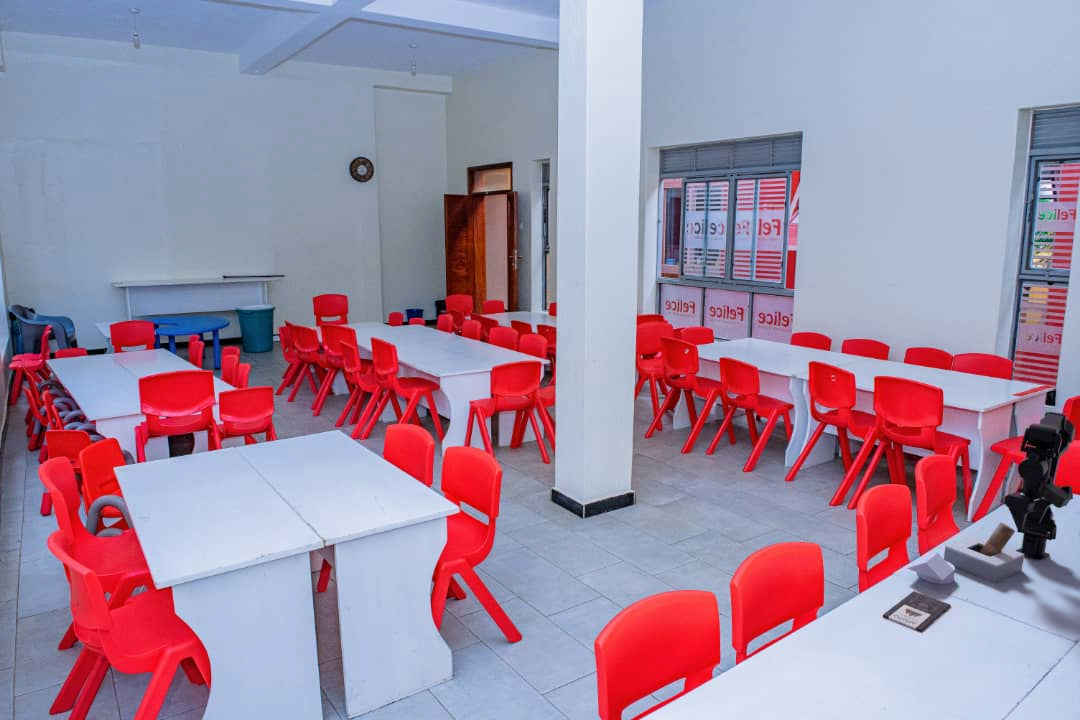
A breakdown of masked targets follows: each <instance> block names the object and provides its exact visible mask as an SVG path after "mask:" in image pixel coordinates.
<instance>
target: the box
mask: <svg viewBox="0 0 1080 720" xmlns="http://www.w3.org/2000/svg"><path fill="white" fill-rule="evenodd" d="M987 541H988V539H984V538H981V537H978V536H976V535H971V536H969V537H964V538H962V539H960V540H956V541H955V542H952V543H949V544H946V545H945V549H944V553H943V559H944V560H945V561H947V562H949V563H951V564H952V565H954V567H955V569H959V570H961V571H963V570H964V571H963V572H966V573H968V572H969V573H968V574H971V575H973V574H974V575H973V576H976V575H977V576H976V577H978V578H980V577H981V578H980V579H984V580H986V581H988V582H991V583H993V584H996V583H998V582H1000V581H1002V580H1005V579H1007V578H1010V577H1011V576H1013V575H1016V574H1019V573H1020V572H1022V571H1023V566H1024V560H1025V559H1024V557H1025V555H1024V554H1023V553H1020V552H1017V551H1016V550H1014V549H1011V548H1009V547H1006V546H1004V548H1003V549H1002V551H1001V552H1000V553H999V554H996V555H994V556H991V557H989V556H986V555H984V554H981V553H979V552H980V551H981V549H982V548H983V546H984V545H985V544H986V542H987ZM1004 578H1005V579H1004Z"/></svg>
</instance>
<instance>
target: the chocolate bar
mask: <svg viewBox="0 0 1080 720" xmlns="http://www.w3.org/2000/svg"><path fill="white" fill-rule="evenodd" d="M951 606H952V605H951V604H950V603H947V602H945V601H941V600H939V599H936V598H933V597H931V596H928V595H925V594H923V593H919V592H918V591H915V590H913V591H912V592H910V594H908V595H907V596H906V597H904V598H902V599H901V600H900V601H899V602H898V603H896V604H895V605H894V606H892V607H891V608H890V609H889V610H887V611H886V612H885V613H884V614H883V615H882V618H884V619H887V620H889V619H890V621H891V622H892V621H893V622H894V621H895V622H894V623H897V622H898V624H899V623H900V625H901V626H902V625H903V626H904V625H905V627H907V628H909V629H912V630H915V631H917V632H920V633H922V632H923V631H924V630H925V629H927V627H929V626H931V624H932V623H934V622H935V621H936V620H937V619H938V618H939V617H940V616H942V615H943V614H944V613H945V612H946V611H947V610H949V609H950V608H951ZM949 607H950V608H949ZM943 612H944V613H943ZM942 613H943V614H942ZM941 614H942V615H941ZM935 619H936V620H935ZM934 620H935V621H934Z"/></svg>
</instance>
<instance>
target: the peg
mask: <svg viewBox="0 0 1080 720" xmlns="http://www.w3.org/2000/svg"><path fill="white" fill-rule="evenodd" d="M1014 534H1015V529H1014V528H1012V527H1011V526H1009V525H1007V524H1005V523H1004V522H999V524H998V525H997V527H995V530H994V531H993V532H992V534H991V535H990V536H989V538H988V539H987V542H986V544H985V545H984V546H983V548H982V549H981V551H980V552H979V553H981V554H984V555H986V556H989V557H991V556H994V555H996V554H999V553H1000V552H1001V551H1002V549H1003V548H1004V547H1006V546H1007V543H1009V541H1010V539H1011V538H1012V537H1013V536H1014Z"/></svg>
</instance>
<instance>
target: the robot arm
mask: <svg viewBox="0 0 1080 720" xmlns="http://www.w3.org/2000/svg"><path fill="white" fill-rule="evenodd" d="M1075 433H1076V430H1075V424H1074V423H1073V422H1071V421H1070V420H1069V419H1068V416H1067V414H1065V413H1061V412H1054V411H1046V412H1045V414H1044V417H1043V418H1041V419H1040V420H1039V423H1031V424H1030V425H1029V427H1026V428H1025V431H1024V434H1023V437H1022V442H1021V445H1020V448H1019V452H1021V453H1022V452H1023V453H1026V455H1025V457H1024V458H1023V459H1022V461H1021V462H1019V464H1018V466H1017V472H1018V474H1019V478H1020V479H1022V483H1021V487H1018V489H1017V492H1012V493H1008V494H1007V495H1005V496H1003V502H1002V503H1003V505H1005V507H1006V508H1007V509H1008V510H1009V512H1010V514H1011V516H1012V519H1013V522H1014V524H1015V527H1016V529H1017V533H1021V534H1023V537H1022V543H1021V548H1020V547H1019V548H1018V549H1015V551H1017V552H1020V553H1023V554H1024V557H1028V558H1030V559H1033V560H1036V561H1041V560H1044V559H1046V558H1048V557H1050V553H1048V552H1046V547H1047V540H1048V541H1052V540H1053V541H1054V540H1056V539H1057V529H1058V528H1057V527H1058V526H1057V524H1056V520H1055V519H1054V517H1055V515H1054V513H1053V511H1052V508H1051V506H1052V505H1053V506H1054V507H1055V508H1058V509H1060V508H1061V509H1062V508H1063V507H1066V506H1067V505H1068V504H1069V503H1070V501H1071V500H1073V499H1074V497H1073V496H1074V494H1073V489H1074V488H1073V487H1072V486H1070V485H1068V484H1066V485H1064V486H1062V487H1061V486H1060V485H1056V484H1055V481H1056V478H1057V474H1058V473H1057V472H1058V468H1059V464H1060V460H1061V459H1060V458H1061V457H1062V456H1063V455H1064V454H1066V452H1068V450H1069V449H1070V445H1071V444H1073V443H1074V439H1075V435H1076V434H1075Z"/></svg>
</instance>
